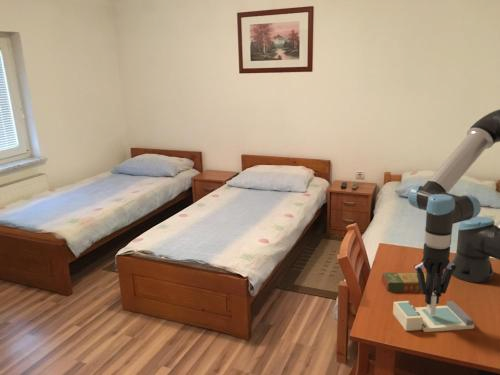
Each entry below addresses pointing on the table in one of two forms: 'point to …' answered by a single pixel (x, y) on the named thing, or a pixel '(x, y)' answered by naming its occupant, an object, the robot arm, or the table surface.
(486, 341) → the table surface
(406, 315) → the stub
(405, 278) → the carton
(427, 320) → the cream teal-inset panel
